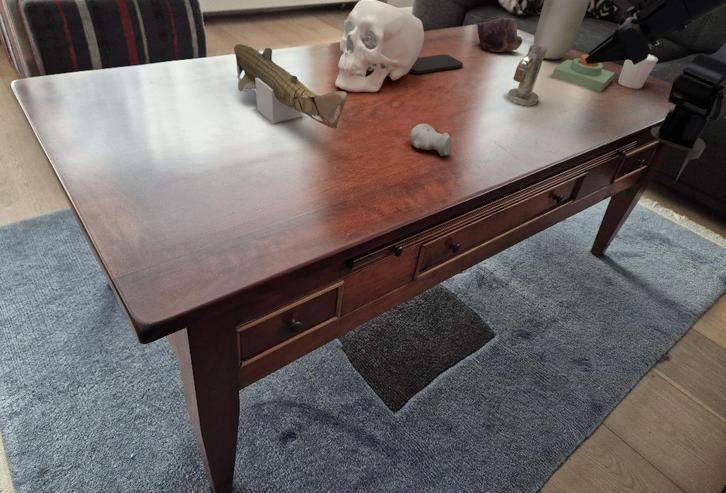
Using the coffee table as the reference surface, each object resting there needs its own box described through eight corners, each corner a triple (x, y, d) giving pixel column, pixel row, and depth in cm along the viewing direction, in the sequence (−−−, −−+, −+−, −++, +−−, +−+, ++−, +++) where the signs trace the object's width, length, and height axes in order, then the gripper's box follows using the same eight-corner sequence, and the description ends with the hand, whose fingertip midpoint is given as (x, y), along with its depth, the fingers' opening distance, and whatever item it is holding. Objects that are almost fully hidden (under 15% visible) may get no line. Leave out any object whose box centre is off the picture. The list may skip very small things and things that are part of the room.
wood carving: (317, 168, 75) (319, 100, 68) (220, 87, 95) (214, 27, 88) (362, 154, 80) (369, 89, 73) (261, 79, 100) (258, 23, 93)
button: (597, 65, 116) (600, 57, 115) (593, 68, 114) (596, 61, 113) (581, 60, 118) (584, 53, 117) (576, 64, 115) (579, 56, 114)
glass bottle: (544, 49, 134) (582, -69, 117) (574, 62, 128) (619, -61, 110) (521, 53, 130) (557, -69, 112) (551, 66, 124) (594, -61, 106)
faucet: (541, 100, 105) (555, 57, 100) (530, 108, 101) (544, 64, 95) (514, 91, 108) (526, 49, 102) (502, 98, 104) (515, 55, 98)
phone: (397, 60, 114) (446, 53, 121) (396, 63, 115) (445, 57, 121) (415, 71, 109) (465, 63, 116) (414, 75, 110) (464, 67, 117)
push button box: (611, 81, 119) (618, 65, 116) (600, 92, 113) (607, 75, 110) (564, 67, 124) (570, 51, 121) (551, 77, 117) (557, 60, 115)
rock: (487, 46, 136) (465, 50, 130) (492, 13, 132) (469, 16, 126) (523, 52, 129) (501, 57, 123) (529, 17, 124) (507, 20, 118)
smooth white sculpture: (403, 148, 85) (424, 134, 87) (434, 168, 80) (456, 152, 82) (400, 128, 82) (423, 114, 83) (433, 147, 77) (456, 132, 79)
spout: (527, 59, 101) (533, 41, 99) (543, 63, 100) (549, 45, 98) (509, 79, 91) (514, 59, 89) (526, 84, 90) (532, 64, 88)
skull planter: (307, 72, 100) (343, -22, 94) (362, 96, 116) (396, 17, 111) (353, 95, 93) (395, -5, 88) (405, 117, 109) (443, 34, 104)
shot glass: (623, 77, 122) (635, 49, 118) (649, 86, 119) (663, 57, 114) (610, 81, 119) (622, 53, 114) (636, 91, 115) (650, 62, 110)
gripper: (667, -49, 81) (576, 8, 91) (662, -36, 67) (557, 29, 78) (693, 11, 83) (601, 60, 94) (694, 35, 70) (587, 89, 81)
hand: (587, 58), depth 86 cm, fingers open, 4 cm apart
